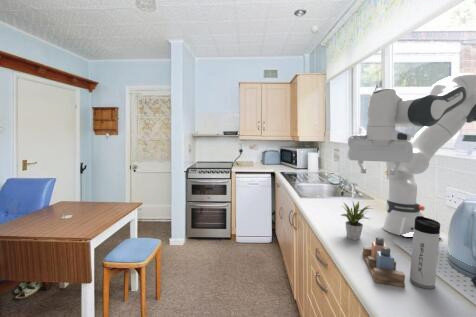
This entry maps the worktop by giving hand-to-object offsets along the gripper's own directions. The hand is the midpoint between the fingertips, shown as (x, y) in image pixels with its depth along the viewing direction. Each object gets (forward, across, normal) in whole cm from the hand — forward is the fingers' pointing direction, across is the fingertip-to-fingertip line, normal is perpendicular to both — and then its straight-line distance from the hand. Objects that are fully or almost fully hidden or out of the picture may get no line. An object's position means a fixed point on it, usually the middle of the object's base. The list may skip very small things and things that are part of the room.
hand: (377, 173), depth 91 cm
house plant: (+31, -3, +17) cm, 36 cm away
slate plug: (+30, +1, -12) cm, 33 cm away
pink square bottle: (+30, +1, -4) cm, 30 cm away
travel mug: (+31, +11, -14) cm, 36 cm away
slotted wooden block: (+31, +1, -8) cm, 32 cm away
